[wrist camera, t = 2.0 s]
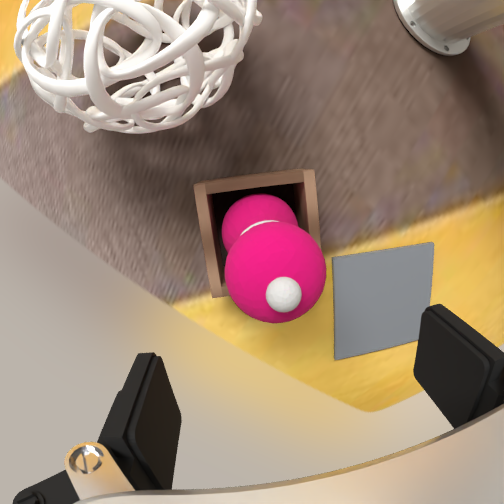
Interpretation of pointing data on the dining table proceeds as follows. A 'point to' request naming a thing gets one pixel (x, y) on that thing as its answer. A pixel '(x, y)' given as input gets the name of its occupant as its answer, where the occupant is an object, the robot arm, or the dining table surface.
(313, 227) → the holder
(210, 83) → the decorative ball
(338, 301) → the mat
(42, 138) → the dining table surface
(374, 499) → the robot arm
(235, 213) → the pink bowling pin
